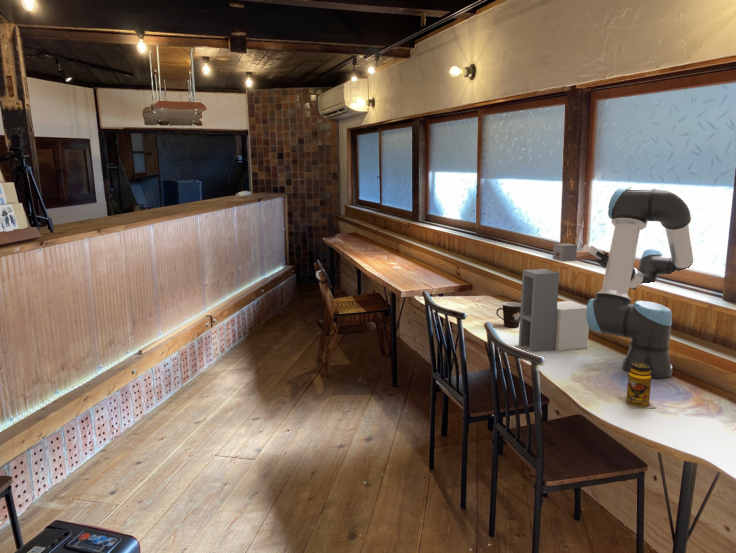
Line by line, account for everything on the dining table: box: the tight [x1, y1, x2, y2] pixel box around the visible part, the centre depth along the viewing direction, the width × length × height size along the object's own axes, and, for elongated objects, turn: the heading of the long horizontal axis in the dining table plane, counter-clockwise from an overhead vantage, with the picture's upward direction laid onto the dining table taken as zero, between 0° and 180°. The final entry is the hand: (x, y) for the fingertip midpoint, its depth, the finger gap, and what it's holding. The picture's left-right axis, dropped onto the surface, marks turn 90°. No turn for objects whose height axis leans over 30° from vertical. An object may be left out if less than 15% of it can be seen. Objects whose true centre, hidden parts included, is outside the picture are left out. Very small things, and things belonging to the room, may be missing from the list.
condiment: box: [618, 363, 657, 409], centre depth 160 cm, size 7×8×12 cm
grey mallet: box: [552, 242, 606, 262], centre depth 210 cm, size 6×20×6 cm, turn 106°
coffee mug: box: [495, 301, 521, 329], centre depth 241 cm, size 12×9×10 cm
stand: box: [518, 268, 560, 353], centre depth 210 cm, size 9×10×30 cm
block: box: [554, 300, 590, 351], centre depth 214 cm, size 12×13×16 cm
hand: (586, 248), depth 211 cm, fingers closed on grey mallet, 3 cm apart
